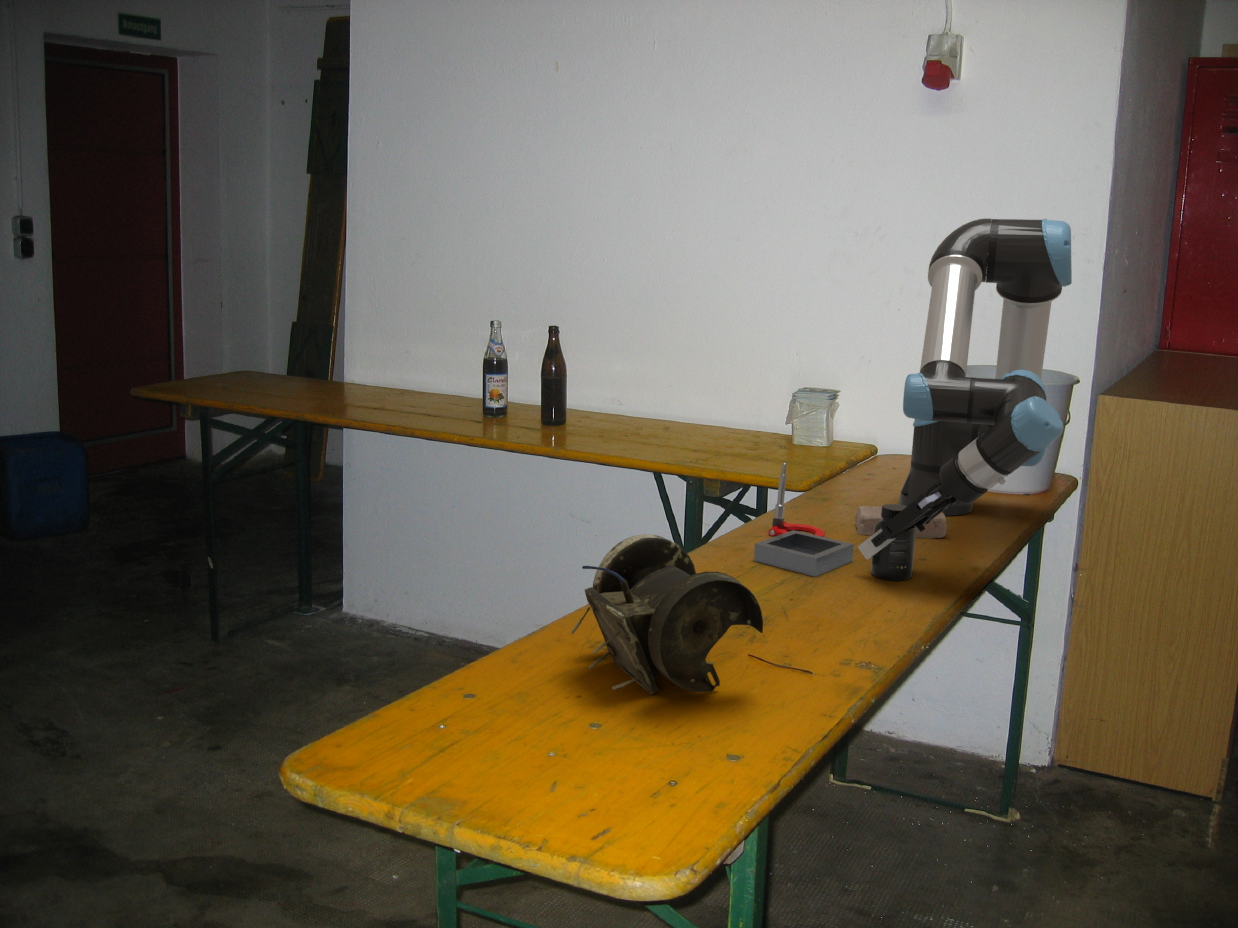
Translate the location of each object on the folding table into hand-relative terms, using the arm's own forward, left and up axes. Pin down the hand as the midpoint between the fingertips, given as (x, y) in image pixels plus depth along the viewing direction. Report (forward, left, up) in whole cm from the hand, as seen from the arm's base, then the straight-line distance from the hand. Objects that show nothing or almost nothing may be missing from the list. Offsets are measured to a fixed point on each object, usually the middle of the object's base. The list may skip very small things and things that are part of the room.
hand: (874, 548), depth 187 cm
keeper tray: (+4, -11, -4) cm, 13 cm away
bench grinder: (+61, +2, -4) cm, 61 cm away
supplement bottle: (0, +4, -4) cm, 6 cm away
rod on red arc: (-10, -21, -4) cm, 24 cm away
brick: (-27, -9, -5) cm, 28 cm away
